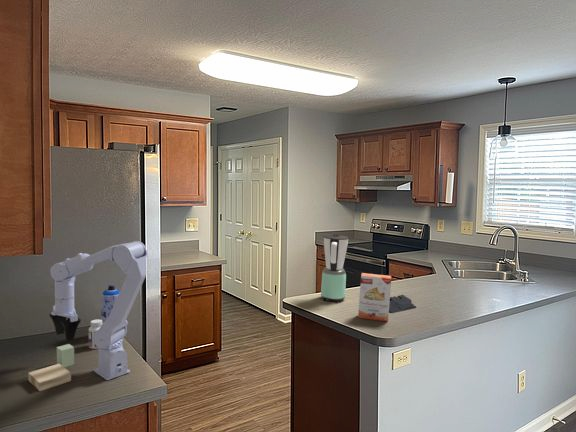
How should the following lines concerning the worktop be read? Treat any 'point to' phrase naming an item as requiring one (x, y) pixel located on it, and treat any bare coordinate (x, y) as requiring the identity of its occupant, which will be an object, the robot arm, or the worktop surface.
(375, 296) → the cracker box
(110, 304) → the aerosol can
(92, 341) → the pill bottle
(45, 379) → the birch block
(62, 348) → the green block
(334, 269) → the mint green blender
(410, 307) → the dark slate chunk
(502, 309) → the worktop surface
